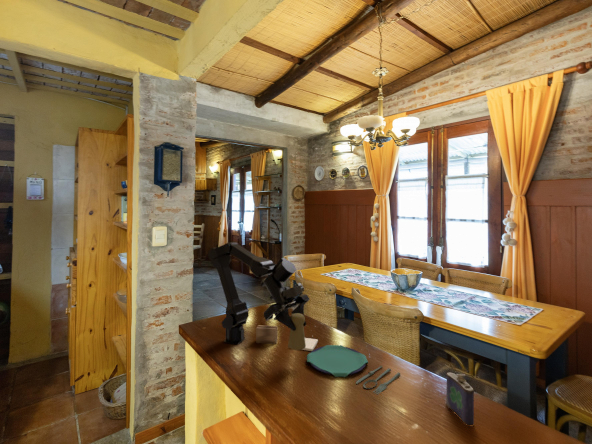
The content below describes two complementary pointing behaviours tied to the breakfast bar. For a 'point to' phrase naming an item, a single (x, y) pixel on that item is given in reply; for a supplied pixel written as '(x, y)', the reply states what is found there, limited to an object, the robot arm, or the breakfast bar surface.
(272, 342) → the napkin holder
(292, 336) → the cork
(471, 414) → the flask
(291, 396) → the breakfast bar surface
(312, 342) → the plate
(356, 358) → the cutlery set
